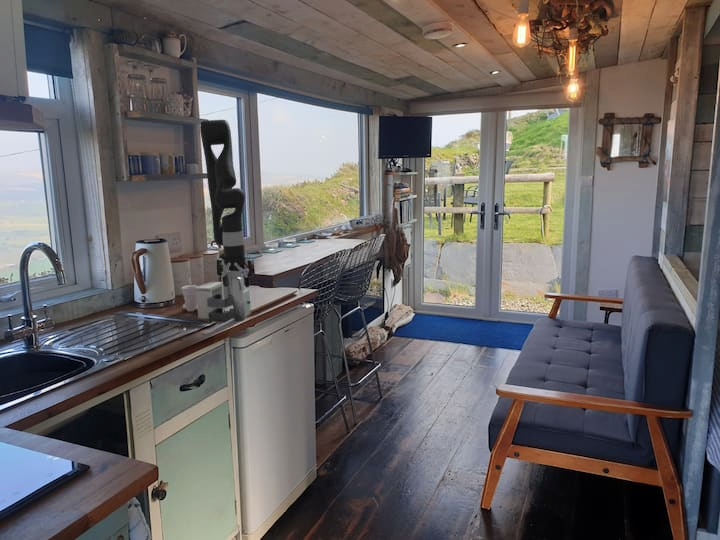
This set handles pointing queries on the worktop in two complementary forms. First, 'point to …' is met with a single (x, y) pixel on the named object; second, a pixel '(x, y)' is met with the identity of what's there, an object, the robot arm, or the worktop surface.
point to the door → (240, 299)
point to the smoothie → (190, 296)
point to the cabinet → (213, 302)
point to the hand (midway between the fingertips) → (237, 286)
